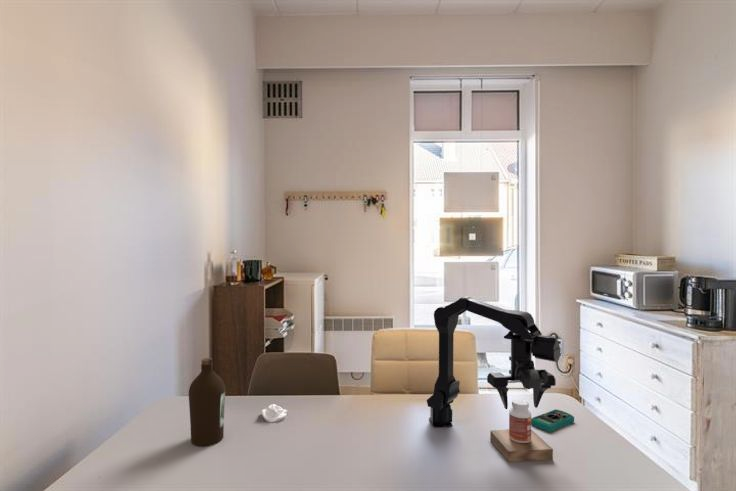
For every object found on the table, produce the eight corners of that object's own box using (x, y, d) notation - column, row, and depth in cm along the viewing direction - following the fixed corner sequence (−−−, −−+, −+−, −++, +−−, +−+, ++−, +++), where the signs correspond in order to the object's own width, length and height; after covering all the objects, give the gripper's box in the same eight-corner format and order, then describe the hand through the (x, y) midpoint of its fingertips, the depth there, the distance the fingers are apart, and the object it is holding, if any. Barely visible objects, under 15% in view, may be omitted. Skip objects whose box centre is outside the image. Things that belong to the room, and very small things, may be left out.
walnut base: (508, 462, 119) (508, 451, 119) (490, 440, 132) (490, 430, 132) (552, 459, 120) (552, 449, 120) (530, 437, 133) (530, 428, 133)
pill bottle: (531, 445, 122) (532, 407, 122) (509, 442, 124) (509, 404, 124) (530, 436, 128) (530, 399, 128) (509, 433, 130) (509, 396, 130)
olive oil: (188, 450, 125) (187, 365, 125) (189, 434, 135) (189, 356, 135) (226, 444, 129) (225, 362, 128) (225, 429, 139) (224, 353, 138)
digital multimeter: (575, 423, 145) (575, 414, 145) (549, 434, 137) (549, 425, 137) (555, 415, 151) (555, 407, 151) (529, 425, 143) (529, 417, 143)
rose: (253, 407, 147) (271, 397, 156) (253, 419, 147) (271, 409, 156) (276, 412, 142) (294, 402, 151) (276, 425, 143) (294, 414, 151)
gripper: (502, 364, 117) (502, 421, 117) (566, 362, 119) (566, 418, 119) (486, 353, 128) (486, 405, 128) (545, 351, 130) (545, 402, 130)
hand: (520, 408), depth 126 cm, fingers open, 9 cm apart
